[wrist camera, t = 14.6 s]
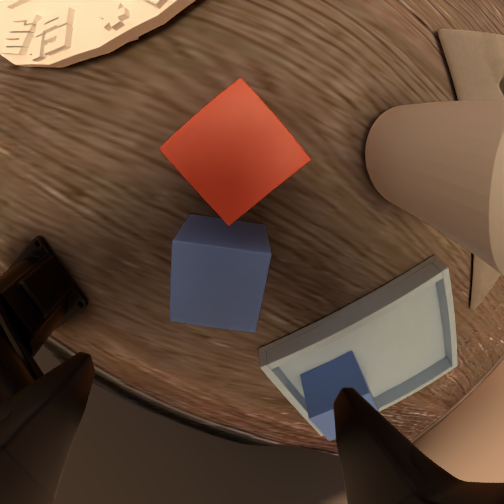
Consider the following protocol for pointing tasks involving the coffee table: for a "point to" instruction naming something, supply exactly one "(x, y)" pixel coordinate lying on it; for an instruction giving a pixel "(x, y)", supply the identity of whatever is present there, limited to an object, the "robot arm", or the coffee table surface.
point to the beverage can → (445, 169)
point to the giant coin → (76, 28)
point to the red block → (234, 151)
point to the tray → (376, 339)
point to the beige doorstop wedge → (476, 88)
